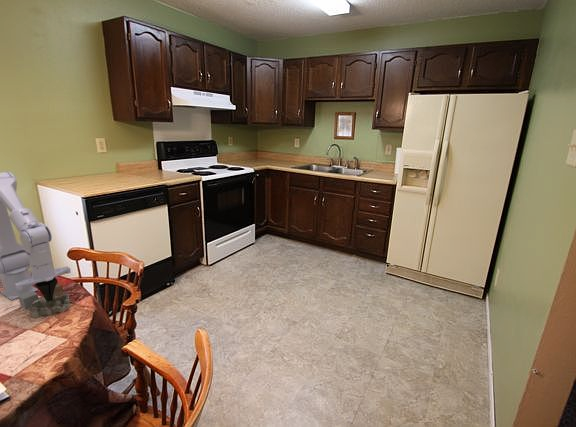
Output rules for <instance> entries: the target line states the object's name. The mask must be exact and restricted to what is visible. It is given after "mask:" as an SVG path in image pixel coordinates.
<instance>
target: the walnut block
mask: <svg viewBox="0 0 576 427" xmlns="http://www.w3.org/2000/svg"><path fill="white" fill-rule="evenodd" d="M64 294H65V292H64V287H63V284H61V283H60V282H58V283H57V285H56V287H55V289H54V294H53V297H54V296H57V297H58V296H62V295H64Z"/></svg>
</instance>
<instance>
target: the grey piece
mask: <svg viewBox="0 0 576 427" xmlns="http://www.w3.org/2000/svg"><path fill="white" fill-rule="evenodd" d="M70 301H71V300H70V294H69V292H67V293H64V295H61V296H58V297H57V296H54V297H53V300H51V301H49V302H48V301H46V300H45V298H44V297H43V298H39V299H37V300H36V301H34V302H33V303H32V305H31V307H30V308H28V309H27V310H28V311H29V314H30V318H34V319H38V318H40V317H42V316H51V315H53V314H55V313H64V312H66V311H68V310H70V304H71V302H70ZM62 304H63V306H62ZM51 306H52V308H49V307H51Z"/></svg>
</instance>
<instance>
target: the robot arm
mask: <svg viewBox="0 0 576 427" xmlns="http://www.w3.org/2000/svg"><path fill="white" fill-rule="evenodd" d="M17 185H18V181H17V178H16V176H15V175H14V174H13V173H12V172H10V171H4V172H0V281H1V283H2V284H1V285H2V288H3V290H1V291H0V294H2V295H4V296H5V297H6V298H7V299H9V300H10V301H12V300H16V299H19V297H18V296H19V295H21V294H24V293H27V292H30V291H34V292H35V293H36V292H38V290H39V291H40V293H41V294H42V296H43V298H45V300H46V301H48V302H49V301H51V300H53V294H54V289H55V287H56V285H57V283H59V282H58V278H57V277H60V276H62V275H65V274H67V275H68V274H71V268H70V267H69V266H68V265H67V266H63V267H59V268H54V261H53V257H52V252H51V251H52V250H51V247H50V243H49V242H51V241H52V233H51V230H50V229H49V227H48V226H47V224H44V223H43V222H40V221H39V220H38V218H37V216H36V215H35V214H34V212H33V211H32V210H31V209H30V208H28V207H24V204H23V203H22V200H21V198H19V195H18V194H17V188H18V186H17ZM8 211H9V212H10V215H9V212H8ZM12 224H13V225H14V227H15V228H16V230H17V231H18V233H19V240H20V242H21V243H19V242H18V241H17V237H16V234H15V232H14V227H13V225H12ZM29 269H30V270H29ZM30 272H31V273H30ZM30 274H31V275H30Z"/></svg>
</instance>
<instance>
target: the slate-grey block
mask: <svg viewBox="0 0 576 427" xmlns="http://www.w3.org/2000/svg"><path fill="white" fill-rule="evenodd" d="M18 297H19V298H18V301H19V305H20V307H22V308H23V309H24V310H28V309H29V308H30V307H31V305H32V303H33V302H34V301H36V300H37V299H40V298H39V294H38V292H36V291H35V292H34V291H30V292H27V293H24V294H21V295H19V296H18Z"/></svg>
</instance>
